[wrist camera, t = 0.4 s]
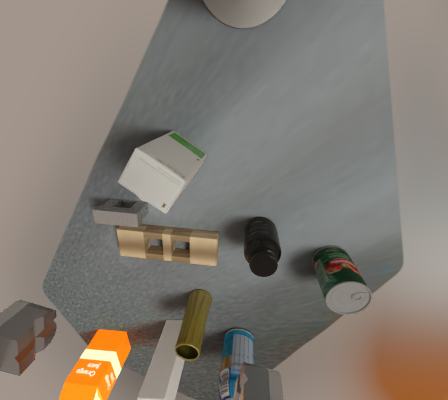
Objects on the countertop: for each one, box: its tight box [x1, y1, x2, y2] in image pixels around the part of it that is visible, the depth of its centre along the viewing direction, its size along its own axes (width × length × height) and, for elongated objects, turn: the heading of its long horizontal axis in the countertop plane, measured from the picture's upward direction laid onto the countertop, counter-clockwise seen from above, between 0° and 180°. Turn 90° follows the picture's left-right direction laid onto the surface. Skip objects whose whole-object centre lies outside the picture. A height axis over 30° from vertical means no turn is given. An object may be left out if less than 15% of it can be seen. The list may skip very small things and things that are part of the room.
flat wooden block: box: [117, 224, 219, 266], centre depth 54 cm, size 7×22×3 cm, turn 87°
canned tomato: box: [312, 246, 372, 315], centre depth 48 cm, size 8×8×11 cm
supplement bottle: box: [244, 218, 281, 277], centre depth 46 cm, size 7×7×12 cm
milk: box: [137, 320, 185, 400], centre depth 57 cm, size 6×6×22 cm
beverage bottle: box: [219, 328, 254, 400], centre depth 57 cm, size 8×8×20 cm
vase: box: [175, 290, 212, 361], centre depth 55 cm, size 6×6×14 cm
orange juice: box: [59, 329, 131, 400], centre depth 64 cm, size 8×9×20 cm
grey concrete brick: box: [93, 199, 149, 227], centre depth 50 cm, size 3×9×6 cm, turn 87°
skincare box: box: [118, 131, 208, 213], centre depth 40 cm, size 8×7×16 cm
